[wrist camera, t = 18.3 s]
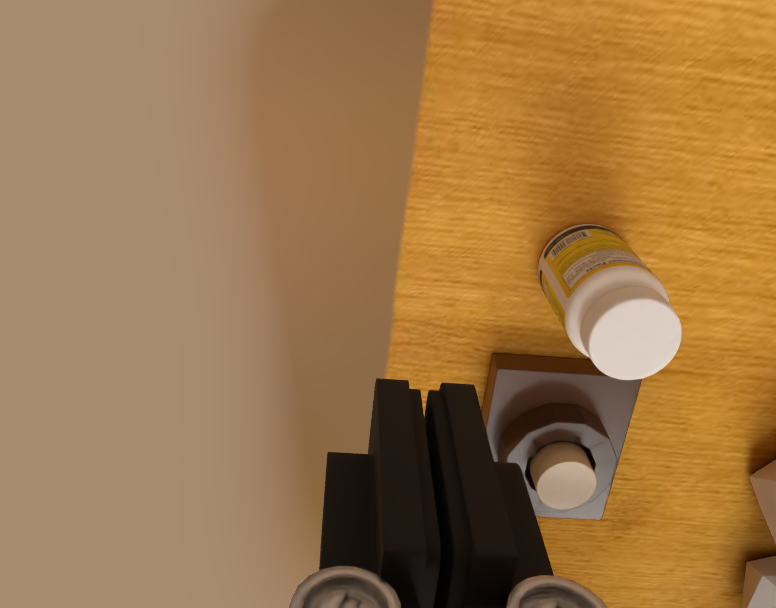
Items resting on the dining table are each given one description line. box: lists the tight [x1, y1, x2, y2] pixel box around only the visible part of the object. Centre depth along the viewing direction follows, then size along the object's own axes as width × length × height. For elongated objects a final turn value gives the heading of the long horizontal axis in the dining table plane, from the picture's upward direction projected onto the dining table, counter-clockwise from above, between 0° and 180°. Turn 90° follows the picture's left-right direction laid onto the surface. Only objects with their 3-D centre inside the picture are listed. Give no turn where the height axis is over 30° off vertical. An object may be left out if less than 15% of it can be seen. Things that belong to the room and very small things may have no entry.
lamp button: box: [530, 442, 597, 509], centre depth 40 cm, size 3×3×2 cm
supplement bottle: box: [538, 224, 682, 380], centre depth 35 cm, size 5×5×8 cm
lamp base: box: [481, 353, 642, 520], centre depth 42 cm, size 10×8×4 cm
